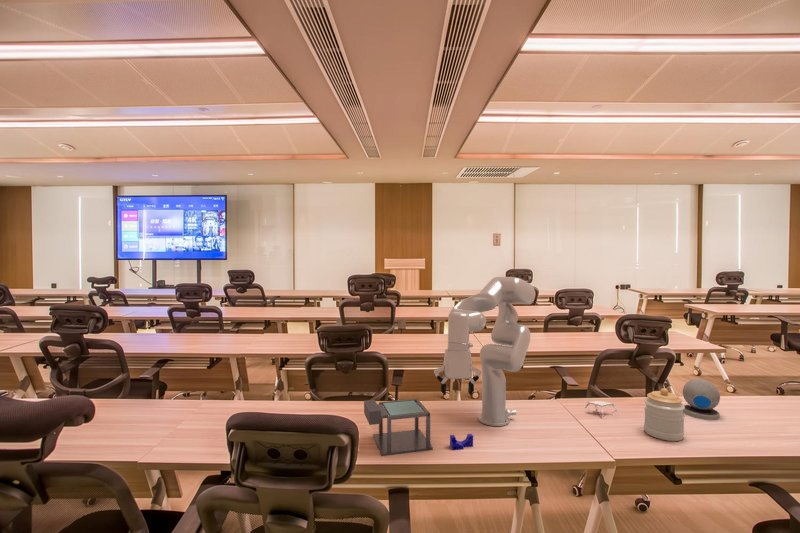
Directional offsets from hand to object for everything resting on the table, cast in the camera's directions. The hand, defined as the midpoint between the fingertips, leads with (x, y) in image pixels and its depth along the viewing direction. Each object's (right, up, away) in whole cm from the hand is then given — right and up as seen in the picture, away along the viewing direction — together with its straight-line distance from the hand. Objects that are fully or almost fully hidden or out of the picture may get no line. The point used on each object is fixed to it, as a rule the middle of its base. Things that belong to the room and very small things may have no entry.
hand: (457, 394), depth 146 cm
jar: (+80, -19, +9) cm, 83 cm away
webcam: (+109, -18, +29) cm, 115 cm away
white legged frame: (+67, -18, +29) cm, 75 cm away
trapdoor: (-23, -8, +1) cm, 25 cm away
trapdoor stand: (-20, -18, +2) cm, 27 cm away
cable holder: (+2, -19, -1) cm, 19 cm away
